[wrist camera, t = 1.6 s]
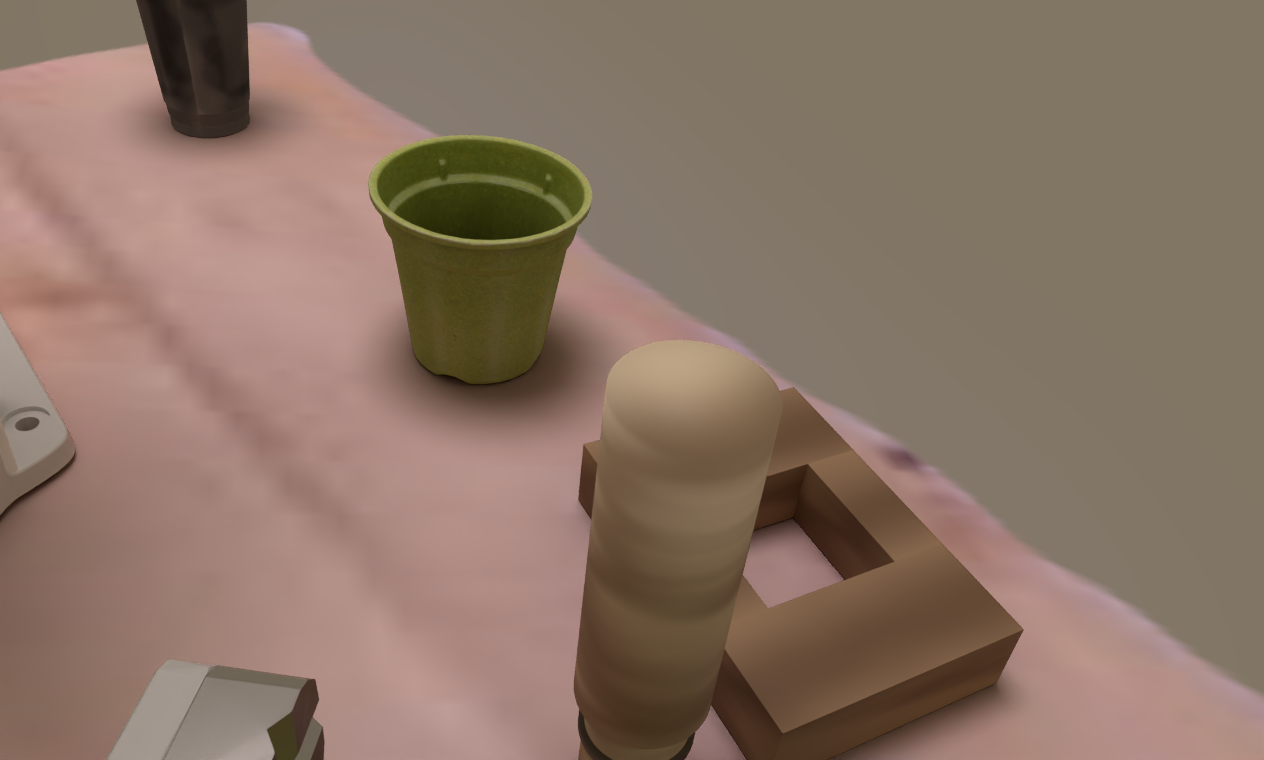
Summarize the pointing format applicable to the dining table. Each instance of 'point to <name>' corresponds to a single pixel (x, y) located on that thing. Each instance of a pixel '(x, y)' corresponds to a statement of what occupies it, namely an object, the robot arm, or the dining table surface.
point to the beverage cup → (200, 62)
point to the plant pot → (478, 247)
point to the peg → (668, 542)
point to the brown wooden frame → (847, 610)
